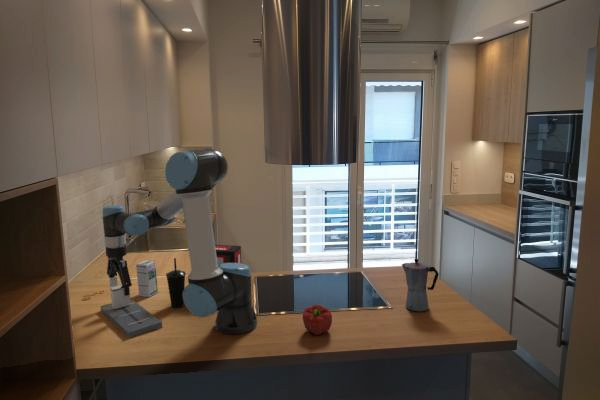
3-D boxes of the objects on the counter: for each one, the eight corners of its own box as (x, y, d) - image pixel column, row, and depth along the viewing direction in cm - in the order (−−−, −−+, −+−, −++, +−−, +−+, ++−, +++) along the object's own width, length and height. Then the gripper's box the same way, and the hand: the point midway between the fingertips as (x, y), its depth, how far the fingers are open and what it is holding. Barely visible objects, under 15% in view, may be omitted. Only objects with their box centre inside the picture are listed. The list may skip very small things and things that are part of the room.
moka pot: (404, 299, 182) (405, 253, 179) (441, 308, 173) (443, 259, 170) (395, 307, 175) (396, 259, 171) (433, 316, 166) (435, 266, 162)
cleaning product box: (199, 294, 190) (197, 250, 186) (207, 287, 198) (205, 244, 195) (235, 296, 187) (234, 251, 183) (242, 289, 195) (240, 245, 192)
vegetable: (330, 341, 148) (330, 313, 146) (300, 338, 150) (299, 311, 148) (333, 326, 159) (333, 300, 157) (305, 324, 161) (305, 298, 159)
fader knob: (130, 304, 174) (128, 285, 172) (114, 309, 170) (112, 289, 168) (127, 302, 176) (125, 283, 175) (111, 306, 172) (110, 287, 171)
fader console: (161, 327, 159) (161, 321, 159) (128, 338, 152) (128, 332, 151) (131, 302, 182) (130, 297, 181) (100, 310, 174) (100, 305, 173)
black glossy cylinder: (182, 310, 174) (179, 261, 170) (164, 308, 175) (161, 260, 172) (190, 302, 181) (188, 256, 178) (173, 301, 183) (170, 255, 179)
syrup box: (149, 297, 187) (147, 265, 184) (138, 296, 189) (135, 263, 186) (158, 292, 192) (155, 261, 190) (146, 291, 194) (144, 259, 191)
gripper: (138, 250, 162) (142, 304, 165) (114, 237, 180) (118, 286, 184) (117, 254, 157) (122, 310, 161) (95, 241, 175) (100, 291, 179)
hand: (120, 297), depth 172 cm, fingers open, 13 cm apart
